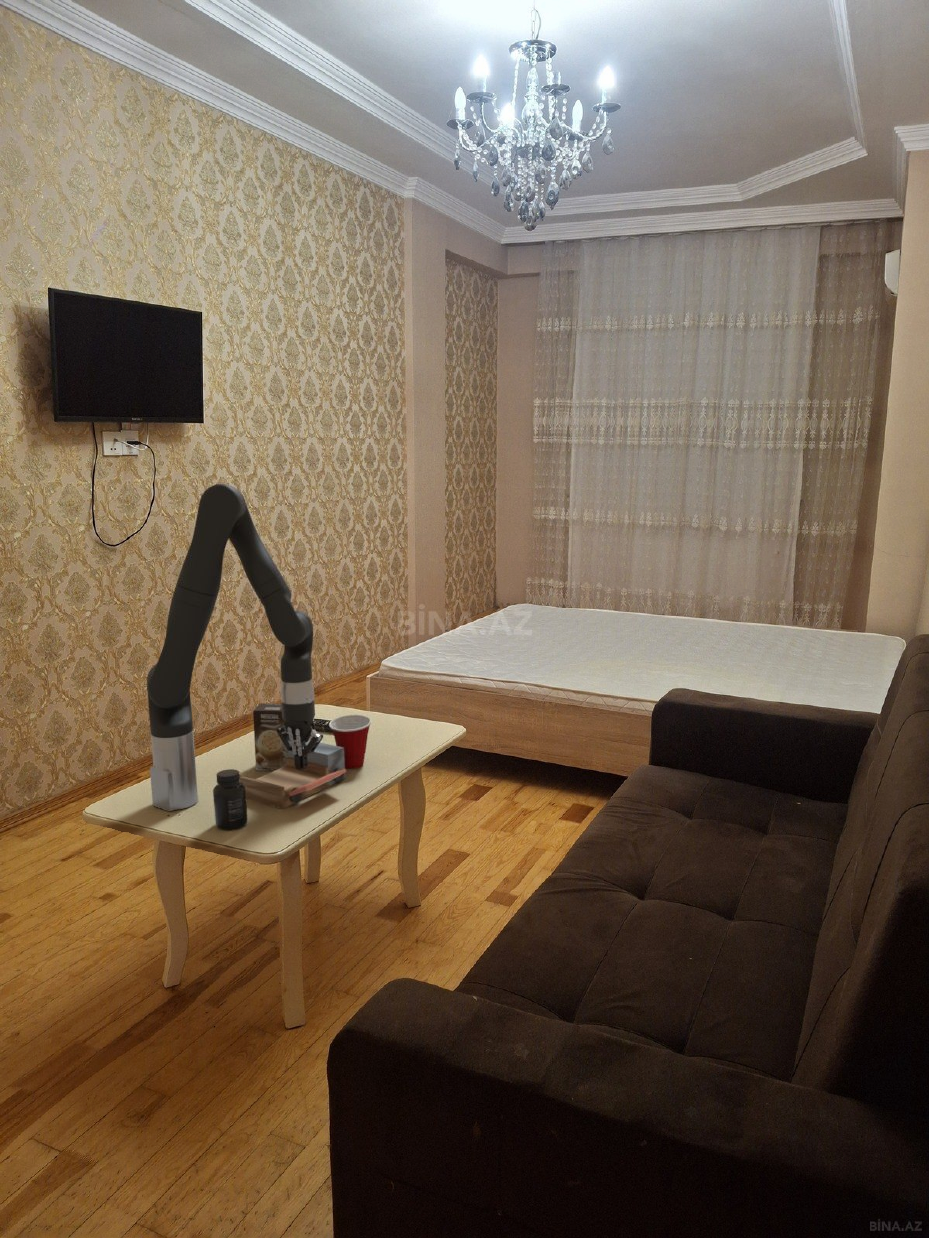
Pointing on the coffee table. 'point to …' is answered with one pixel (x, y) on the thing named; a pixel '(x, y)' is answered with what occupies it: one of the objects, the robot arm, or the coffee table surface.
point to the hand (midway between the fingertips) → (301, 769)
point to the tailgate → (317, 782)
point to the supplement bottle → (230, 801)
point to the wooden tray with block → (296, 777)
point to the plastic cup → (351, 738)
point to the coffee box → (269, 737)
